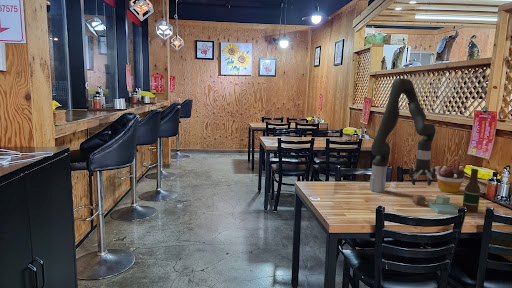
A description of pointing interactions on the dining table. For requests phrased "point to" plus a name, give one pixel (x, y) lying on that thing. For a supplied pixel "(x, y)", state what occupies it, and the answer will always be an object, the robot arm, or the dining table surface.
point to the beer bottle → (472, 193)
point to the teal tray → (443, 208)
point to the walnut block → (419, 200)
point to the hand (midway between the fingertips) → (421, 185)
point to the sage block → (442, 199)
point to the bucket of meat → (450, 177)
